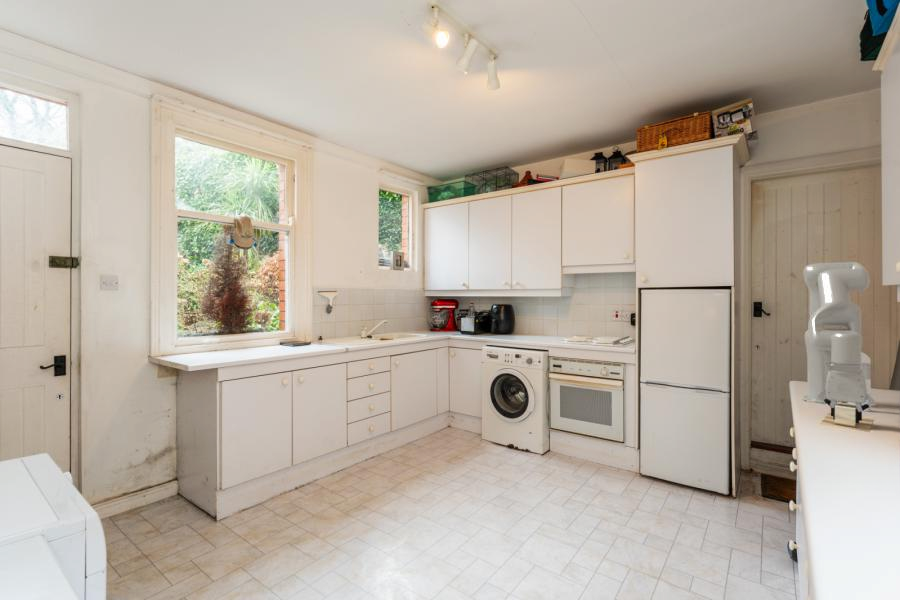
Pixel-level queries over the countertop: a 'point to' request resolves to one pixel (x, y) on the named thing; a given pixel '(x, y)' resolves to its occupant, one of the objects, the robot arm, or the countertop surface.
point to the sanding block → (845, 414)
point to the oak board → (861, 426)
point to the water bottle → (866, 371)
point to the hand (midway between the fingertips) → (846, 420)
